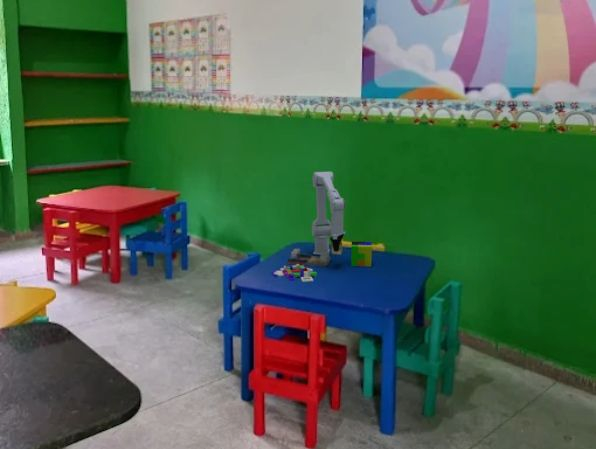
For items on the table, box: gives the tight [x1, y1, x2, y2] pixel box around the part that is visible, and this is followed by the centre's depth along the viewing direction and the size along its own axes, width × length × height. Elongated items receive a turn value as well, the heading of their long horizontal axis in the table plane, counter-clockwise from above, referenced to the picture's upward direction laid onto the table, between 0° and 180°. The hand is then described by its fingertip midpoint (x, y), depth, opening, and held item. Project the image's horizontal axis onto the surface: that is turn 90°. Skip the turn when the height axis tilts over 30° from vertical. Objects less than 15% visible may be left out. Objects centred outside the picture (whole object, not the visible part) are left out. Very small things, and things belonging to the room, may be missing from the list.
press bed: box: [286, 250, 332, 268], centre depth 314 cm, size 12×20×6 cm, turn 77°
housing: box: [331, 241, 343, 255], centre depth 305 cm, size 4×4×5 cm
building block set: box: [270, 263, 318, 283], centre depth 295 cm, size 25×20×4 cm
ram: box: [290, 248, 301, 259], centre depth 315 cm, size 8×3×4 cm, turn 167°
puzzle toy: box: [350, 241, 373, 267], centre depth 311 cm, size 10×10×10 cm
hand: (336, 249), depth 305 cm, fingers closed on housing, 4 cm apart
